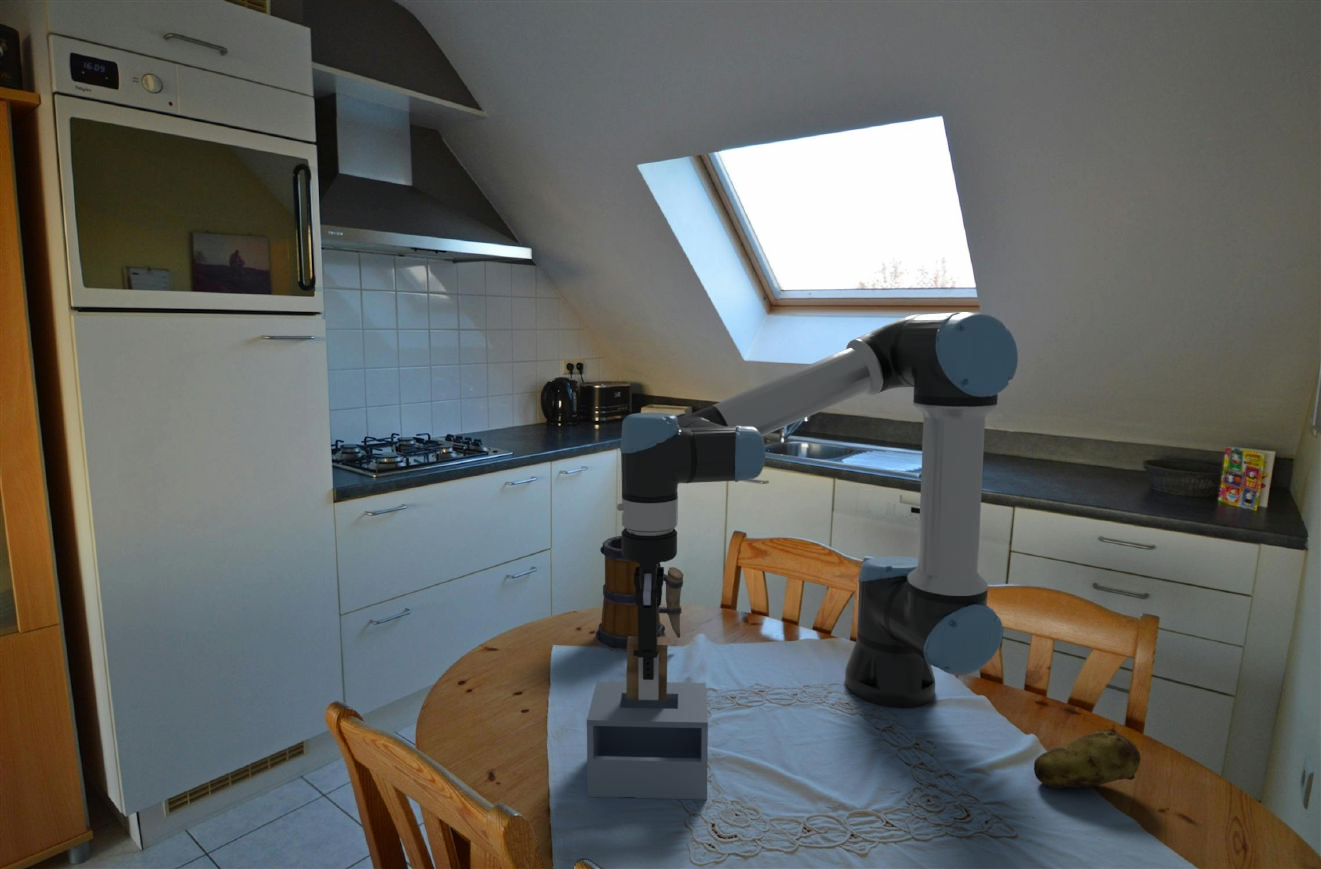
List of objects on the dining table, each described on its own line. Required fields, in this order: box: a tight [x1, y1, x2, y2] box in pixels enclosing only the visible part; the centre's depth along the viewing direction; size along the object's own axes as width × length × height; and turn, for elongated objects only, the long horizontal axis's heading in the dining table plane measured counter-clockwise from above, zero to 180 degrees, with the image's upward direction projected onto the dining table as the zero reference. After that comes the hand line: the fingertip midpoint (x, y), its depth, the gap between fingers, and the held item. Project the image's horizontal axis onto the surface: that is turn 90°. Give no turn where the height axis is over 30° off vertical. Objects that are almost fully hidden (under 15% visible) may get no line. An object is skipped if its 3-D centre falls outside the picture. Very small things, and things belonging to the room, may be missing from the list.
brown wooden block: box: [626, 636, 669, 700], centre depth 102 cm, size 6×3×8 cm, turn 88°
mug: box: [595, 535, 684, 653], centre depth 148 cm, size 19×14×20 cm
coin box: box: [586, 680, 709, 800], centre depth 103 cm, size 16×11×11 cm
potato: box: [1033, 729, 1141, 789], centre depth 101 cm, size 8×13×8 cm, turn 69°
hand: (649, 692), depth 102 cm, fingers closed on brown wooden block, 3 cm apart
